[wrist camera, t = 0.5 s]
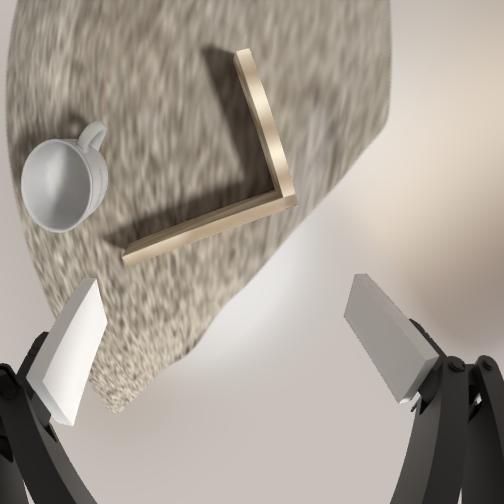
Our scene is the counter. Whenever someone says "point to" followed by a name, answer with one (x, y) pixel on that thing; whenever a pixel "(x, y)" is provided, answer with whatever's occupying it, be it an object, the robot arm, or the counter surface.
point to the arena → (241, 210)
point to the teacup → (65, 179)
